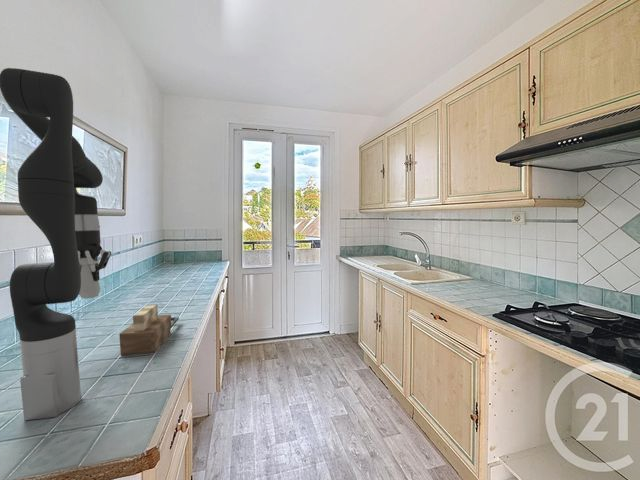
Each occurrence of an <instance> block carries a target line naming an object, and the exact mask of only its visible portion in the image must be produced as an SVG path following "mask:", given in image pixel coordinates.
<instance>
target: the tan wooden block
mask: <svg viewBox="0 0 640 480" xmlns="http://www.w3.org/2000/svg"><path fill="white" fill-rule="evenodd" d="M169 319H170V330H171V329H172V328H173V327H174V326H175V324H177V322H178V321H179V319H180V316H173V317H172V314H163V315H162V314H161V315H160V314H159V313H158V304H157V303H156V304H155V303H154V304H148V305H146V306H145V307H143V308H141V310H139V311H138V312H136V313H135V314H133V315H132V323H131V324H130V325H129V326H127V328H125V329H123V330H122V331H121V332H119V335H118V336H119V338H120V337H126V336H140V335H153V334H155V333H156V332H157V331H158V330H159V329H160V328H161V327H162V326H163V325H164V324H165V323H166V322H167V321H168V320H169Z"/></svg>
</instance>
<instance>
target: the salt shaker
mask: <svg viewBox="0 0 640 480" xmlns="http://www.w3.org/2000/svg"><path fill="white" fill-rule="evenodd" d="M93 261H96V259H95V260H93ZM80 265H82V266H81V288H80V293H79V295H78V296H80V298H81V299H94V298H96V297H98V296H99V294H100V291H101V286H100V282H99V281H100V280H98V281H95V280H93V276H92V273H91V272H92V270H91V267H90V265H89V263H88V260H87V258H81V259H80Z"/></svg>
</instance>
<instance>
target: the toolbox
mask: <svg viewBox="0 0 640 480" xmlns="http://www.w3.org/2000/svg"><path fill="white" fill-rule="evenodd" d="M171 331H172V330H171V329H170V319H169V320H168V321H167V322H166V323H165V324H164V325H163V326H162V327H161V328H160V329H159V330H158V331H157V332H156V333H155V334H153V335H140V336H126V337H120V336H119V349H120V351H119V352H120V356H129V355H131V356H132V355H143V354H144V355H145V354H154V353H156V352H157V351H158V350H159V348H161V346H162V345H163V344H164V343H165V341H166V340H167V339H168V338H169V337H170V336H171Z"/></svg>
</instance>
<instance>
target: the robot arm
mask: <svg viewBox="0 0 640 480" xmlns="http://www.w3.org/2000/svg"><path fill="white" fill-rule="evenodd" d="M0 92H1V93H0V94H1V95H2V96H3V99H4V101H5V103H6V104H7V105H8V107H9V108H10V109H11V111H13V112H14V114H15V115H16V116H17V117H18V118H19V119H20V120H21V121H22V122H23V123H24V124H25V125H26V127H28V129H30V130H31V132H32V133H33V134H34V135H35V136H37V137H38V139H39V140H40V141H41V142H39V144H38V145H37V146H36V147H35V149H33V150H32V152H31V153H30V154H29V155H28V156H27V158H25V160H24V161H23V162H22V164H21V165H20V167H19V169H18V171H17V194H18V195H17V197H18V203H19V205H20V207H21V209H22V210H23V212H24V213H25V214H26V215H27V216H28V217H29V219H30V220H31V221H32V222H33V223H34V224H35V226H37V227H38V229H40V231H41V232H42V233H43V235H44V236H45V238H46V239H47V241H48V242H49V245H50V248H51V250H52V255H53V262H39V263H38V262H37V263H24V264H21V265H20V264H19V265H18V266H17V267H15V268H14V270H13V271H12V273H11V276H10V278H9V279H10V280H9V293H10V300H11V306H12V312H13V317H14V323H15V328H16V330H17V332H18V334H19V341H20V357H21V365H22V375H23V376H21V377H20V379H19V380H20V393H21V401H22V402H21V403H22V411H23V420H24V421H30V420H39V419H47V418H56V417H58V416H59V415H61V414H62V413H64V412H66V411H68V410H70V409H72V408H73V407H74V406H76V405H77V404H79V402H80V401H81V399H82V391H81V390H82V389H81V378H80V367H79V356H78V355H79V354H78V353H79V351H78V344H77V343H78V341H77V329H76V327H77V325H76V319H75V317H74V316H73V315H70V314H67V313H63V312H58V311H55V310H53V309H51V308H50V307H48V306H47V305H52V304H53V305H54V304H64V303H65V304H66V303H70V302H73V301H75V300H76V299H77V298H78V296H80V295H79V293H80V288H81V266H82V265H80V259H81V258H87V260H88V263H89V265H90V267H91V270H92V272H91V273H92V276H93V280H95V281H100V280H101V279H100V270H102V269H105V268H106V267H107V265H108V263H109V260H110V258H111V255H112V251H110V250H108V251H107V250H105V249H103V248H102V246H101V243H102V242H101V226H100V219H99V212H98V201H97V199H96V197H95V196H91V195H87V194H86V195H85V194H82V193H80V192H78V190H77V188H78V189H96V188H99V187H100V186H101V185H102V184H103V181H104V179H103V178H104V177H103V174H102V172H101V170H100V169H99V168H98V166H97V165H96V164H95V163H94V162H93V161H92V160H90V158H88V157H87V156H86V153H85V152H84V149H83V147H82V145H81V144H80V142H79V141H78V140H77V139H76V137H74V136H73V128H74V127H73V125H74V98H73V90H72V88H71V85H70V83H69V82H68V80H67V79H65V77H63V76H61V75H59V74H53V73H47V72H43V71H42V72H41V71H36V70H29V69H23V68H15V67H14V68H13V67H7V68H3V69H2V70H1V72H0ZM99 256H100V257H101V258H100V260H99ZM95 259H96V261H93V260H95Z"/></svg>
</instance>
